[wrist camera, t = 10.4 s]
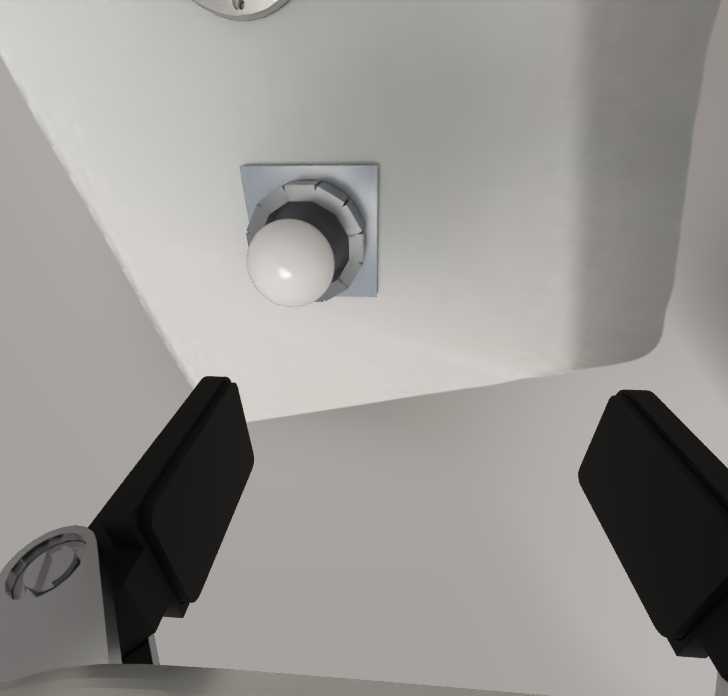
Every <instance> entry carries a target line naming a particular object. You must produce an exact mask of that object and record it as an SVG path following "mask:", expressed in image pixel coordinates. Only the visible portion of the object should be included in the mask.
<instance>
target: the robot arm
mask: <svg viewBox="0 0 728 696" xmlns="http://www.w3.org/2000/svg"><path fill="white" fill-rule="evenodd" d="M192 1H194V2H195V3H196V4H198V5H199V6H201V7H202V8H204V9H206V10H208V11H210V12H212V13H214V14H216V15H218V16H221V17H225V18H228V19H232V20H252V19H256V18H261V17H264V16H266V15H268V14H270V13H272V12H274V11H276V10H278V9H279V8H280V7H281V6H282V5H284V4H285V3H286V2H287V1H288V0H192ZM241 2H244V3H245V4H244V8H243V10H241V9H240V3H241ZM253 464H254V455H253V450H252V445H251V441H250V437H249V433H248V429H247V424H246V420H245V416H244V412H243V407H242V403H241V399H240V395H239V391H238V387H237V384H236V383H231V380H230V379H229V378H228V377H215V376H206V377H204V378H202V379H201V381H200V382H199V383H198V385H197V386H196V387H195V389H194V390H193V391H192V393H191V394H190V395H189V397H188V398H187V399H186V400H185V402H184V403H183V405H182V406H181V407H180V408H179V410H178V411H177V412H176V414H175V415H174V416H173V417H172V419H171V420H170V421H169V423H168V424H167V425H166V426H165V428H164V429H163V430H162V432H161V433H160V434H159V435H158V437H157V438H156V439H155V441H154V442H153V443H152V445H151V446H150V447H149V448H148V450H147V451H146V452H145V454H144V455H143V456H142V458H141V459H140V460H139V462H138V463H137V464H136V465H135V467H134V468H133V470H132V471H131V472H130V473H129V475H128V476H127V477H126V478H125V480H124V481H123V483H122V484H121V485H120V487H119V488H118V489H117V490H116V492H115V493H114V494H113V495H112V497H111V498H110V500H109V501H108V502H107V503H106V505H105V506H104V507H103V508H102V510H101V511H100V513H99V514H98V515H97V516H96V518H95V519H94V520H93V522H92V523H91V524H90V526H89V527H88V528H87V527H83V526H77V525H75V526H68V527H62V528H59V529H56V530H53V531H51V532H48V533H46V534H44V535H42V536H41V537H39V538H37V539H35V540H34V541H32V542H31V543H29V544H28V545H27V546H25V547H24V548H23V549H21V550H20V551H19V552H18V553H17V554H16V555H15V556H14V557H13V558H12V559H11V560H10V561H9V562H8V563H7V564H6V565H5V567H4V568H3V570H2V572H1V573H0V696H547V695H535V694H523V693H511V692H500V691H488V690H477V689H465V688H454V687H442V686H430V685H418V684H406V683H395V682H383V681H370V680H359V679H346V678H333V677H321V676H309V675H296V674H284V673H271V672H259V671H246V670H234V669H218V668H202V667H183V666H168V665H160V663H159V657H158V653H157V647H156V643H155V637H154V633H155V632H156V630H157V628H158V626H159V623H160V621H161V619H162V617H175V618H183V617H184V615H185V613H186V610H187V608H188V606H189V603H193V602H195V601H196V600H197V599H198V597H199V595H200V593H201V591H202V589H203V586H204V584H205V581H206V579H207V577H208V574H209V572H210V569H211V567H212V565H213V562H214V560H215V557H216V555H217V553H218V550H219V548H220V545H221V543H222V541H223V538H224V536H225V533H226V531H227V529H228V526H229V523H230V521H231V519H232V516H233V514H234V511H235V509H236V506H237V504H238V502H239V500H240V497H241V494H242V492H243V490H244V487H245V485H246V483H247V480H248V478H249V475H250V473H251V471H252V468H253ZM578 478H579V483H580V485H581V487H582V489H583V491H584V493H585V495H586V497H587V499H588V501H589V502H590V504H591V506H592V508H593V510H594V512H595V514H596V516H597V518H598V520H599V522H600V523H601V525H602V527H603V529H604V531H605V533H606V535H607V537H608V539H609V541H610V542H611V544H612V546H613V548H614V550H615V552H616V554H617V556H618V558H619V560H620V562H621V563H622V565H623V567H624V569H625V571H626V573H627V575H628V577H629V579H630V581H631V582H632V585H633V586H634V588H635V590H636V592H637V594H638V596H639V598H640V600H641V602H642V603H643V605H644V607H645V609H646V611H647V613H648V615H649V617H650V619H651V621H652V623H653V625H654V626H655V628H656V629H657V631H658V632H659V633H660V634H661V635H662V636H664V637H666V638H667V639H668V641H669V643H670V644H671V646H672V648H673V650H674V652H675V654H676V656H682V657H695V658H696V657H697V658H707V657H708V656H709V657H710V659H711V660H712V662H713V664H714V666H715V667H716V669H717V670H718V674H717V683H716V692H715V696H728V468H727V467H726V466H725V465H724V464H723V463H722V462H721V461H720V460H719V459H718V458H717V457H716V456H715V455H714V454H713V453H712V452H711V451H710V450H709V449H708V448H707V447H706V446H705V445H704V444H703V443H702V442H701V441H700V440H699V439H698V438H697V437H696V436H695V435H694V434H693V433H692V432H691V431H690V430H689V429H688V428H687V427H686V426H685V425H684V424H683V423H682V421H680V419H679V418H677V417H676V416H675V414H674V413H673V412H672V411H671V410H670V409H668V407H667V406H666V405H665V404H664V403H663V402H662V401H661V400H660V399H659V398H658V397H657V396H656V395H655V394H654V393H652V392H651V391H647V390H620V391H619V392H618V393H617V394H616V395H615V396H612V397H610V399H609V401H608V403H607V405H606V408H605V410H604V412H603V415H602V417H601V419H600V422H599V424H598V426H597V429H596V431H595V433H594V436H593V438H592V441H591V443H590V445H589V447H588V450H587V452H586V454H585V457H584V459H583V461H582V464H581V466H580V469H579V472H578Z"/></svg>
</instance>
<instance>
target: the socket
mask: <svg viewBox="0 0 728 696" xmlns="http://www.w3.org/2000/svg"><path fill="white" fill-rule="evenodd" d="M240 171H241V177H242V183H243V189H244V195H245V201H246V207H247V213H248V219H249V225H248V228H247V230H246V231H248V233H246V235H247V241H248V247H249V245H250V243H251V241H252V239H253V237H254V236H255V234H256V233H257V232H258V231H259V230H260V229H261V228H263V227H264V226H265V225H267V224H269V223H271V222H273V221H276V220H280V219H298V220H302V221H305V222H307V223H309V224H311V225H314V226H316V227H318V228H319V229H320V230H321V231H322V232H323V234H324V236H325V237H326V239H327V240H328V242H329V244H330V246H331V248H332V251H333V254H334V260H335V269H334V275H333V279H332V281H331V284H330V286H329V287H328V289H327V290H326V292H325V293H324V294H323V295H322V296H321V297H320V298H319V299H317V300H316V301H314V302H323V301H324V300H325V301H327V300H329V299H331V298H332V297H334V296H350V297H377V232H378V165H244V166H240Z"/></svg>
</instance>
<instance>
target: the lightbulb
mask: <svg viewBox="0 0 728 696" xmlns="http://www.w3.org/2000/svg"><path fill="white" fill-rule="evenodd" d="M246 262H247V271H248V274H249V277H250V280H251V282H252V284H253V285H254V287H255V288H256V290H257V291H258V292H259V293H260V294H261V295H262V296H263V297H264V298H266V299H267V300H269V301H270V302H272V303H274V304H277V305H280V306H284V307H301V306H305V305H308V304H310V303H312V302H314V301H316V300H317V299H319V298H320V297H321V296H322V295H323V294H324V293H325V292H326V290H327V289H328V287H329V286H330V284H331V281H332V279H333V275H334V269H335V260H334V254H333V251H332V248H331V246H330V244H329V242H328V240H327V239H326V237H325V236H324V234H323V232H322V231H321V230H320V229H319V228H318V227H316V226H314V225H311V224H309V223H307V222H305V221H302V220H298V219H280V220H276V221H273V222H271V223H269V224H267V225H265V226H264V227H263V228H261V229H260V230H259V231H258V232H257V233H256V234H255V236H254V237H253V239H252V241H251V243H250V245H249V248H248V252H247V261H246Z"/></svg>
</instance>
